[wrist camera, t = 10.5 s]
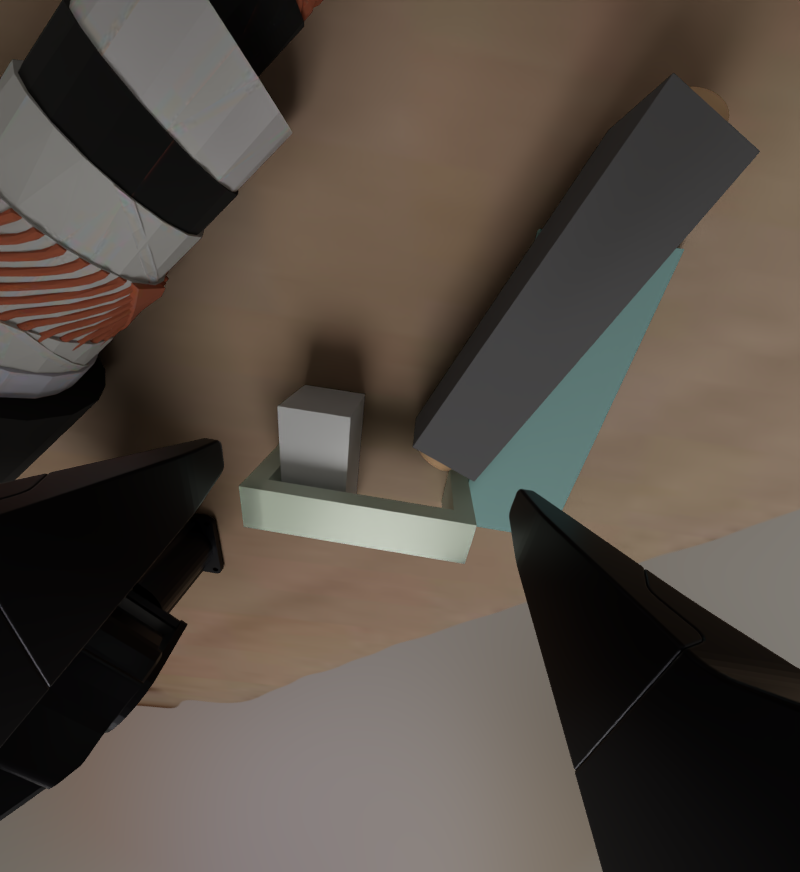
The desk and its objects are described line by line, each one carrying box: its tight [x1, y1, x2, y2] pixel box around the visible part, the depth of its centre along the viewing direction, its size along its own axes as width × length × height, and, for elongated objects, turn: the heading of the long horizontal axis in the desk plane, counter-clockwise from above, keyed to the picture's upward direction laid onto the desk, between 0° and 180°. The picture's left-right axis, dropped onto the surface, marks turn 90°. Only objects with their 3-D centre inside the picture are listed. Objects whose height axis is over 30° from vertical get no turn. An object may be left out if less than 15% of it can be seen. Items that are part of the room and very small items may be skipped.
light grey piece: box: [239, 445, 477, 564], centre depth 20 cm, size 3×13×6 cm, turn 83°
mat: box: [468, 229, 684, 532], centre depth 19 cm, size 19×7×1 cm, turn 172°
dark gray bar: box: [413, 73, 760, 481], centre depth 15 cm, size 18×4×4 cm, turn 150°
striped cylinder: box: [0, 0, 323, 483], centre depth 14 cm, size 10×34×10 cm, turn 126°
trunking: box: [278, 385, 365, 494], centre depth 20 cm, size 9×4×4 cm, turn 173°
